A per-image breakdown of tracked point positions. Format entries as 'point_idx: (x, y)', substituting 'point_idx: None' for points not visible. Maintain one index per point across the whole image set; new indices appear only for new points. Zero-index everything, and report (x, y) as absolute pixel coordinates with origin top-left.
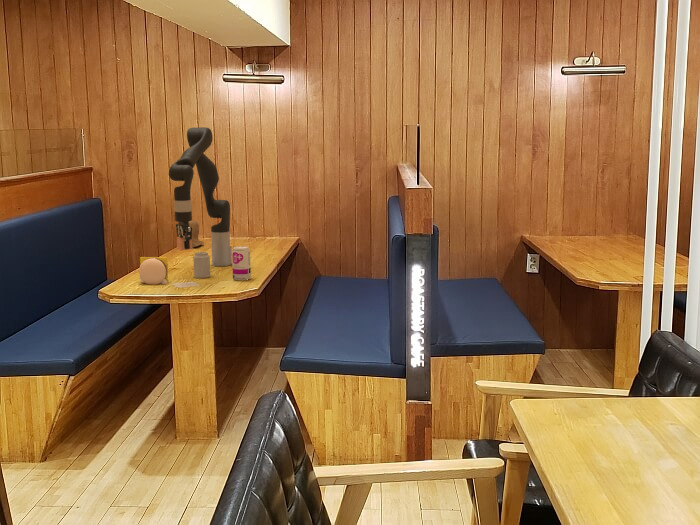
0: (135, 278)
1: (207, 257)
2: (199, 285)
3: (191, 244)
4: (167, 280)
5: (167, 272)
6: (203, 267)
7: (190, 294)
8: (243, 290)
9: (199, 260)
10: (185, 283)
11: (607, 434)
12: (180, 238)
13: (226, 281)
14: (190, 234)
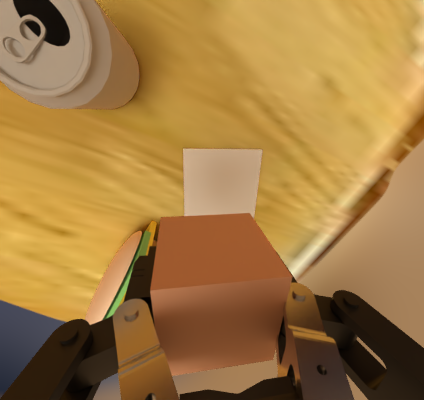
0: (18, 280)
1: (101, 12)
2: (261, 155)
3: (262, 237)
4: (155, 228)
5: (150, 243)
6: (129, 70)
7: (334, 214)
8: (418, 44)
9: (110, 87)
10: (203, 183)
11: None
12: (238, 360)
13: (236, 5)
14: (417, 361)
